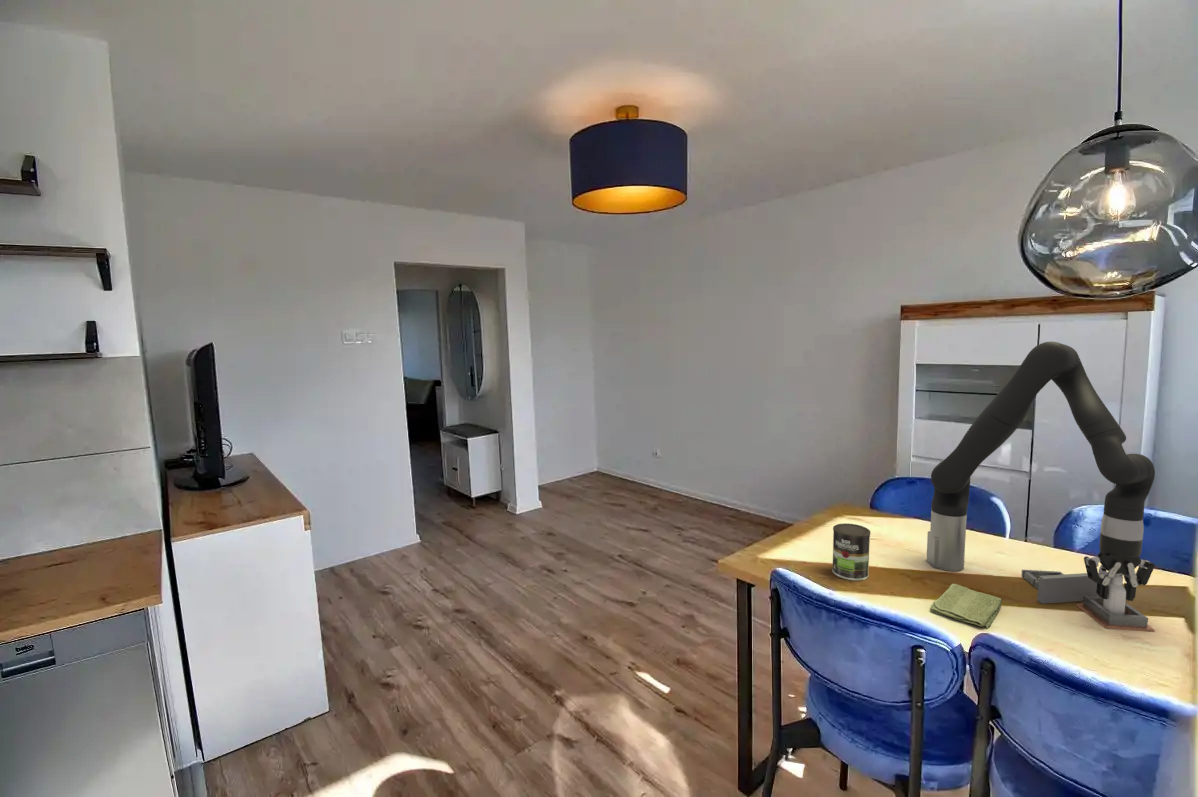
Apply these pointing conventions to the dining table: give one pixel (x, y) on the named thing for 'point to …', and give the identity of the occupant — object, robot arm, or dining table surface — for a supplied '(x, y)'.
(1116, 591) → the eye dropper bottle
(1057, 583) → the grey divider panel
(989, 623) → the washcloth
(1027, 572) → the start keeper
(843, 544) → the coffee can
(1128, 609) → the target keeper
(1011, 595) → the dining table surface
